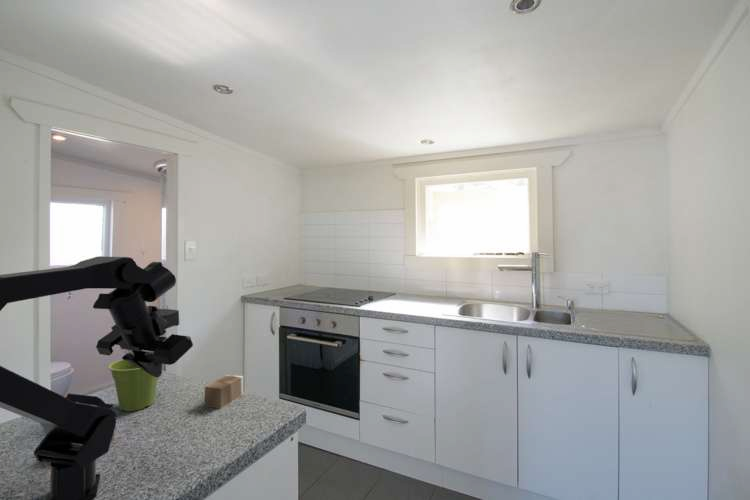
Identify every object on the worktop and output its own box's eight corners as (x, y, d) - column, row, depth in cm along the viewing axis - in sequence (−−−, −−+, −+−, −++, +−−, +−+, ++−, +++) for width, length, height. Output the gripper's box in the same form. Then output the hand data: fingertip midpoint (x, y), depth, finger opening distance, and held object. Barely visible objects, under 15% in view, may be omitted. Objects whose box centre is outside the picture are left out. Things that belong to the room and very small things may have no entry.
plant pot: (156, 392, 98) (157, 352, 98) (169, 406, 90) (170, 362, 90) (103, 405, 89) (104, 361, 89) (112, 421, 81) (113, 373, 81)
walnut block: (221, 408, 89) (243, 394, 98) (221, 388, 89) (243, 376, 97) (204, 405, 90) (227, 391, 99) (204, 386, 90) (227, 374, 99)
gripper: (200, 296, 73) (219, 355, 79) (129, 290, 77) (153, 345, 84) (158, 330, 63) (184, 393, 69) (80, 320, 68) (111, 380, 74)
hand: (158, 375), depth 75 cm, fingers closed
